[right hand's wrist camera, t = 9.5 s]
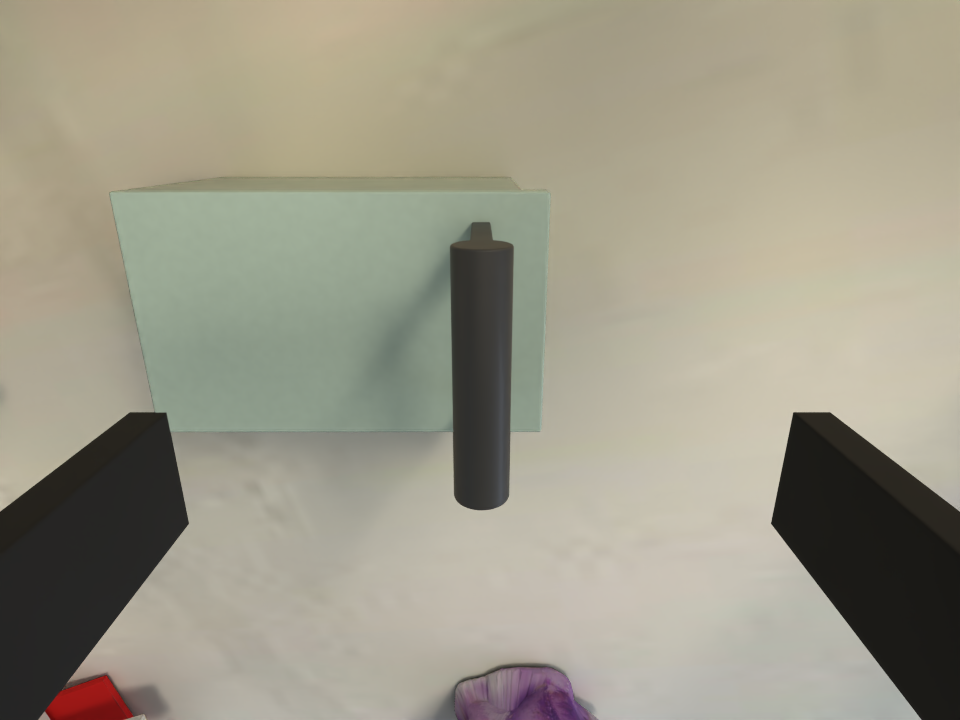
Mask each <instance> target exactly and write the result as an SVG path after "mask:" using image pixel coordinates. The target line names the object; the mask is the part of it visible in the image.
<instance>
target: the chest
mask: <svg viewBox="0 0 960 720" xmlns="http://www.w3.org/2000/svg"><path fill="white" fill-rule="evenodd" d="M128 190H522V189H521V188H520V187H519V186H518V185H517V184H516V183H515V182H514V181H513V180H512V178H510V177H221V178H213V179H206V180H198V181H190V182H182V183H174V184H167V185H159V186H151V187H143V188H135V189H128Z"/></svg>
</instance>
